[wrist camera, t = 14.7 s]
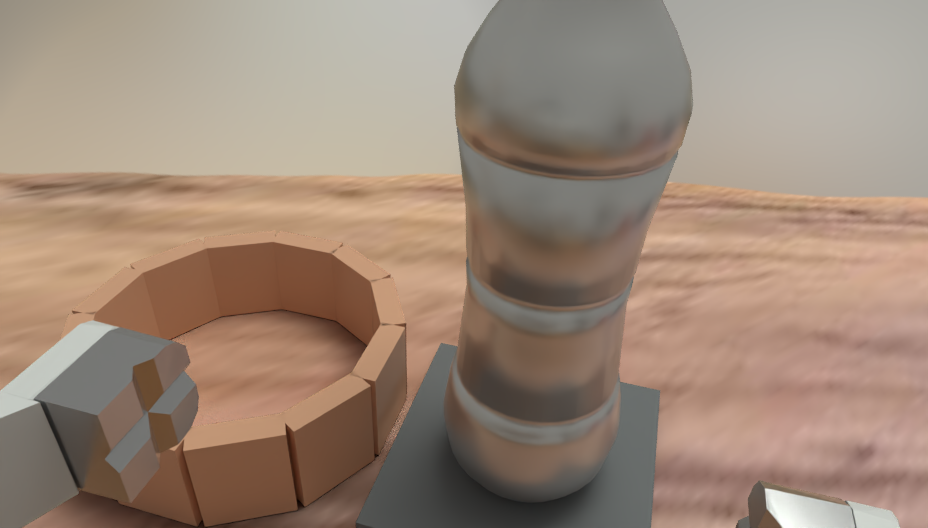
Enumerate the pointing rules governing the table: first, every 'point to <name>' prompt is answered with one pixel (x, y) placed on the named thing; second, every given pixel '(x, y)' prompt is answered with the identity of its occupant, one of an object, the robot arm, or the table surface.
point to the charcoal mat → (489, 515)
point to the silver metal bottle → (556, 229)
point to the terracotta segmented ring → (279, 435)
